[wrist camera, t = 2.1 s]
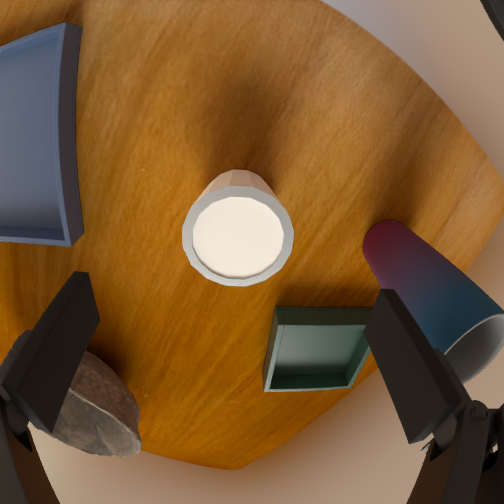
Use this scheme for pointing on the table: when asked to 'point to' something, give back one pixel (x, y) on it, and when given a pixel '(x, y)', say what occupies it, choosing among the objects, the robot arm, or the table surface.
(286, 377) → the far tray
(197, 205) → the white faceted candle
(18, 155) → the near tray
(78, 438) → the bowl
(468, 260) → the table surface
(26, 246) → the table surface
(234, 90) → the table surface
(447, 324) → the cup
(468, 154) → the table surface
